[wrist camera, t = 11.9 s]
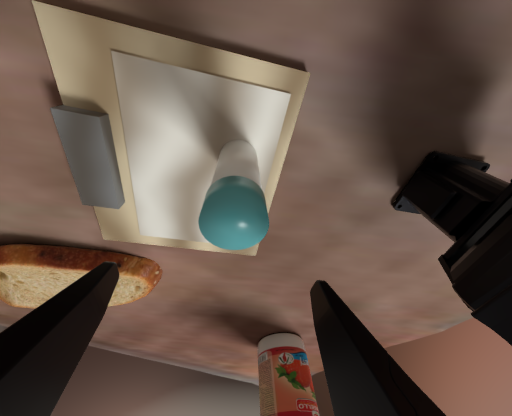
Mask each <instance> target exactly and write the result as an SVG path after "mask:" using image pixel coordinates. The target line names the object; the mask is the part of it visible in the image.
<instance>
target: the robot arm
mask: <svg viewBox="0 0 512 416" xmlns="http://www.w3.org/2000/svg"><path fill="white" fill-rule="evenodd" d="M434 156H435V157H434ZM433 157H434V158H433ZM489 167H490V164H488V163H486V162H482V161H478V160H473V159H469V158H464V157H460V156H455V155H451V154H446V153H442V152H437V151H433V152H431V153H430V154H429V155H428V156H427V157H426V159H425V160H424V161H423V163H422V164H421V166H420V167H419V168H418V170H417V171H416V173H415V174H414V175H413V177H412V178H411V180H410V181H409V182H408V184H407V185H406V187H405V188H404V189H403V191H402V192H401V194H400V195H399V196H398V198H397V199H396V201H395V202H394V203H393V208H394V209H395V210H398V211H404V212H411V213H417V214H422V215H423V216H424V217H425V218H426V219H428V220H429V221H430V222H431V223H432V224H434V225H435V226H436V227H437V228H438V229H439V230H441V231H442V232H443V233H444V234H445V235H447V236H448V237H449V238H450V239H451V240H453V241H454V242H455V243H454V244H453V245H452V246H451V247H450V248H449V249H448V250H447V252H446V253H445V254H444V255H441V256H440V257H439V258H438V260H439V262H440V264H441V265H442V267H443V269H444V271H445V272H446V274H447V276H448V277H449V279H450V281H451V283H452V284H453V285H452V287H453V289H454V291H455V292H456V293H457V294H458V296H459V297H460V298H461V299H462V301H463V302H464V303H465V304H466V306H467V307H468V308H469V309H471V310H472V311H473V312H472V313H471V315H472V316H473V317H474V318H476V319H478V320H479V321H480V322H482V323H483V324H485V325H486V326H488V327H489V328H491V329H492V330H494V331H495V332H496V333H497V334H499V335H500V336H501V337H502V338H503V339H505V340H506V341H507V342H508V343H509V344H510V345H512V179H511V183H508V182H505V181H503V180H501V179H499V178H496V177H494V176H492V175H490V174H487V173H485V172H486V171H487V170H488V169H489ZM398 205H399V206H398ZM118 280H119V271H118V267H117V264H116V263H115V262H109V261H105V262H103V263H101V264H100V265H98V266H97V267H95V268H94V269H92V270H91V271H89V272H88V273H87V274H85V275H84V276H82V277H81V278H79V279H78V280H76V281H75V282H73V283H72V284H71V285H69V286H68V287H66V288H65V289H63V290H62V291H60V292H59V293H57V294H56V295H55V296H53V297H52V298H50V299H49V300H47V301H46V302H44V303H43V304H41V305H40V306H39V307H37V308H36V309H34V310H33V311H31V312H30V313H28V314H27V315H26V316H24V317H23V318H21V319H20V320H18V321H17V322H15V323H14V324H12V325H11V326H10V327H8V328H7V329H5V330H4V331H2V332H1V333H0V416H50V415H51V413H52V411H53V409H54V408H55V406H56V404H57V402H58V400H59V398H60V396H61V394H62V393H63V391H64V389H65V387H66V385H67V383H68V381H69V379H70V378H71V376H72V374H73V372H74V370H75V368H76V366H77V365H78V362H79V361H80V359H81V357H82V355H83V354H84V352H85V350H86V348H87V346H88V344H89V342H90V341H91V339H92V337H93V335H94V333H95V331H96V329H97V328H98V326H99V324H100V322H101V320H102V318H103V316H104V314H105V311H106V309H107V307H108V304H109V302H110V299H111V297H112V294H113V292H114V290H115V287H116V285H117V282H118ZM310 296H311V304H312V312H313V320H314V327H315V332H316V336H317V341H318V345H319V349H320V354H321V358H322V363H323V367H324V371H325V376H326V379H327V384H328V388H329V393H330V398H331V402H332V406H333V411H334V415H335V416H446V415H445V414H444V413H443V412H442V411H441V410H440V409H439V408H438V407H437V406H436V405H435V403H434V402H433V401H432V400H431V399H430V398H429V397H428V396H427V395H426V394H425V393H424V392H423V391H422V390H421V389H420V388H419V387H418V386H417V385H416V384H415V383H414V382H413V381H412V379H411V378H410V377H408V375H407V374H406V373H405V372H404V371H403V370H402V368H401V367H400V366H399V365H398V364H397V363H396V362H395V361H394V359H393V358H392V357H391V356H390V355H389V354H388V353H387V351H386V350H385V349H384V348H383V347H382V346H381V344H380V343H379V342H378V341H377V340H376V339H375V338H374V336H373V335H372V334H371V333H370V332H369V331H368V329H367V328H366V327H365V326H364V325H363V324H362V323H361V321H360V320H359V319H358V318H357V317H356V316H355V314H354V313H353V312H352V311H351V310H350V309H349V308H348V306H347V305H346V304H345V303H344V302H343V301H342V299H341V298H340V297H339V296H338V295H337V294H336V293H335V291H334V290H333V289H332V288H331V287H330V286H329V284H328V283H327V282H326V281H322V280H317V281H316V282H315V283H314V285H313V287H312V288H311V291H310Z"/></svg>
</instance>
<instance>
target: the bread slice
mask: <svg viewBox="0 0 512 416" xmlns="http://www.w3.org/2000/svg"><path fill="white" fill-rule="evenodd" d="M105 261H109V262H115V263H116V264H117V267H118V271H119V280H118V282H117V285H116V287H115V290H114V292H113V294H112V297H111V299H110V302H109V304H108V306H113V305H122V304H126V303H130V302H133V301H135V300H137V299H140V298H142V297H145V296H146V295H148V294H149V293H150V292H151V291H152V289H153V288H154V287H155V286H156V284H157V283H158V282H159V280H160V279H161V275H162V269H161V267H160V266H159V265H158V264H157V263H156V262H155V261H153V260H150V259H147V258H141V257H137V256H133V255H127V254H123V253H118V252H109V251H104V250H92V249H80V248H74V247H66V246H51V245H32V244H11V245H0V299H1V300H2V301H3V302H5V303H7V304H8V305H10V306H14V307H23V308H37V307H39V306H40V305H41V304H43V303H44V302H46V301H47V300H49V299H50V298H52V297H53V296H55V295H56V294H57V293H59V292H60V291H62V290H63V289H65V288H66V287H68V286H69V285H71V284H72V283H73V282H75V281H76V280H78V279H79V278H81V277H82V276H84V275H85V274H87V273H88V272H89V271H91V270H92V269H94V268H95V267H97V266H98V265H100V264H101V263H103V262H105Z"/></svg>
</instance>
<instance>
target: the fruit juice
mask: <svg viewBox="0 0 512 416" xmlns="http://www.w3.org/2000/svg"><path fill="white" fill-rule="evenodd" d="M258 372H259V394H260V415H261V416H319V412H318V408H317V403H316V398H315V393H314V388H313V384H312V379H311V374H310V369H309V365H308V360H307V355H306V351H305V346H304V343H303V341H302V339H301V338H300V337H299V336H297V335H295V334H291V333H277V334H272V335H269V336H266V337H264V338H263V339H261V340H260V342H259V344H258Z"/></svg>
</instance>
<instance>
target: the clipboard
mask: <svg viewBox="0 0 512 416" xmlns="http://www.w3.org/2000/svg"><path fill="white" fill-rule="evenodd" d="M32 3H33V6H34V10H35V13H36V16H37V20H38V23H39V26H40V30H41V33H42V36H43V40H44V43H45V46H46V50H47V53H48V56H49V60H50V63H51V66H52V70H53V73H54V76H55V80H56V83H57V86H58V90H59V93H60V96H61V100H62V103H63V105H61V106H56V107H52V108H50V109H51V112H52V115H53V118H54V121H55V124H56V127H57V130H58V133H59V136H60V139H61V142H62V145H63V148H64V151H65V154H66V157H67V160H68V163H69V166H70V169H71V172H72V175H73V178H74V181H75V184H76V187H77V190H78V193H79V196H80V199H81V202H82V204H83V205H89V206H94V209H95V213H96V216H97V219H98V223H99V226H100V229H101V233H102V236H103V239H104V240H113V241H123V242H132V243H141V244H150V245H160V246H169V247H178V248H188V249H197V250H206V251H215V252H225V253H234V254H243V255H252V256H256V252H257V249H258V246H259V243H257V244H256V245H254V246H252V247H249V248H246V249H242V250H227V249H223V248H220V247H217V246H215V245H213V244H211V243H210V242H209V241H207V240H206V239H205V238H204V236H203V235H202V233H201V231H200V229H199V224H198V220H199V215H200V212H201V209H202V206H203V202H204V199H205V196H206V193H207V191H208V189H209V187H210V186H211V182H212V179H213V175H214V172H215V169H216V165H217V162H218V158H219V155H220V152H221V149H222V148H223V146H224V145H225V144H226V143H228V142H229V141H232V140H244V141H246V142H248V143H250V144H251V145H252V146H253V147H254V149H255V151H256V153H257V159H258V165H259V172H260V179H261V186H262V191H263V193H264V195H265V200H266V206H267V212H269V209H270V206H271V202H272V199H273V196H274V193H275V189H276V186H277V183H278V179H279V176H280V173H281V169H282V166H283V163H284V159H285V156H286V153H287V149H288V146H289V143H290V139H291V136H292V133H293V130H294V126H295V123H296V120H297V116H298V113H299V110H300V106H301V103H302V100H303V96H304V93H305V90H306V86H307V83H308V80H309V76H310V73H308V72H304V71H301V70H297V69H293V68H289V67H285V66H281V65H278V64H274V63H270V62H266V61H262V60H259V59H255V58H251V57H247V56H243V55H240V54H236V53H232V52H228V51H224V50H220V49H217V48H213V47H209V46H205V45H201V44H198V43H194V42H190V41H186V40H182V39H179V38H175V37H171V36H167V35H163V34H159V33H156V32H152V31H148V30H144V29H140V28H137V27H133V26H129V25H125V24H121V23H118V22H114V21H110V20H106V19H102V18H98V17H95V16H91V15H87V14H83V13H79V12H76V11H72V10H68V9H64V8H60V7H57V6H53V5H49V4H45V3H41V2H37V1H34V0H32Z"/></svg>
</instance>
